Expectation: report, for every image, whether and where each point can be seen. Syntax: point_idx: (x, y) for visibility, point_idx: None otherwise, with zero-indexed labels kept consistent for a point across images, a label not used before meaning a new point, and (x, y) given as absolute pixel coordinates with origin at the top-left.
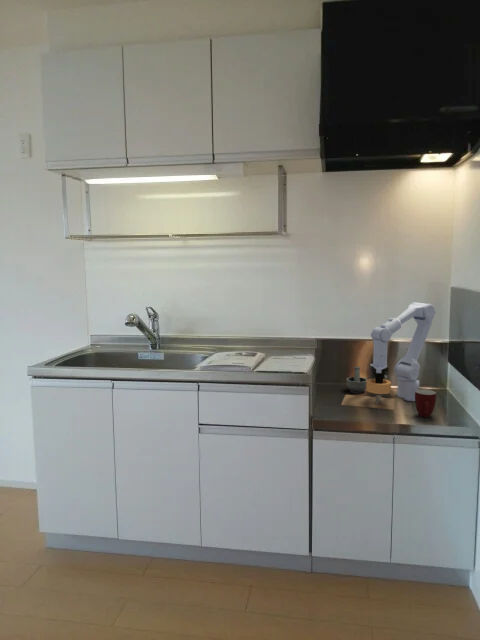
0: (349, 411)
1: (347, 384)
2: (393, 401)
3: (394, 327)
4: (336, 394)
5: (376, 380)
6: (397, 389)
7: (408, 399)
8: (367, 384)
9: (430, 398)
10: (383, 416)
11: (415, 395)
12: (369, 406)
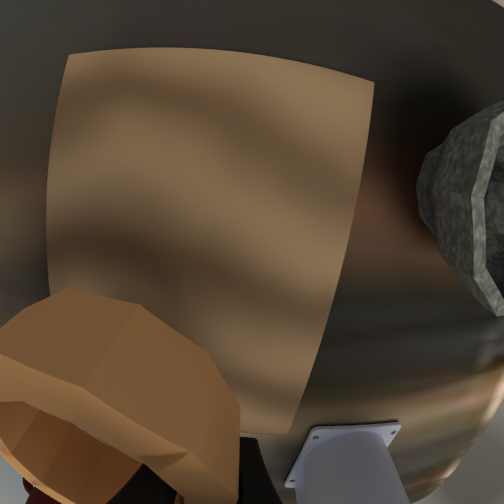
0: (18, 129)
1: (488, 107)
2: None
3: None
4: (417, 40)
5: (140, 481)
6: (370, 462)
7: (302, 466)
8: (2, 336)
9: None
10: (5, 318)
11: (41, 500)
12: (62, 265)
